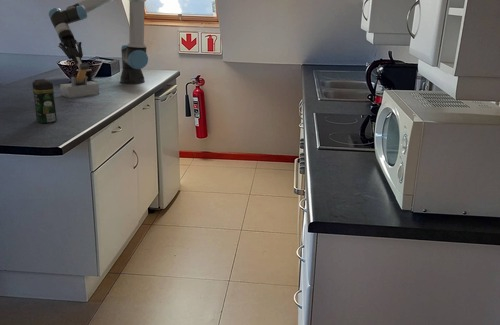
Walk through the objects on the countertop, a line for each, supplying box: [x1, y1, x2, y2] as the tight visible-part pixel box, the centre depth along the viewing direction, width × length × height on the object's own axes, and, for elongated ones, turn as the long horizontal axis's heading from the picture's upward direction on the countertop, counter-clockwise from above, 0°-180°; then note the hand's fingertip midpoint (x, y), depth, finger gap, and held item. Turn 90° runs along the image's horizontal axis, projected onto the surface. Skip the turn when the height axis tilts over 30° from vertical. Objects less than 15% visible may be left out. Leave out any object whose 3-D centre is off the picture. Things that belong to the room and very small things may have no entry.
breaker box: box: [59, 76, 100, 99], centre depth 273 cm, size 9×18×10 cm, turn 135°
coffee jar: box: [32, 78, 58, 124], centre depth 217 cm, size 10×8×19 cm
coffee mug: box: [69, 68, 93, 81], centre depth 295 cm, size 12×9×10 cm
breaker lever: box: [75, 62, 90, 84], centre depth 268 cm, size 2×4×14 cm
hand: (81, 68), depth 266 cm, fingers closed
